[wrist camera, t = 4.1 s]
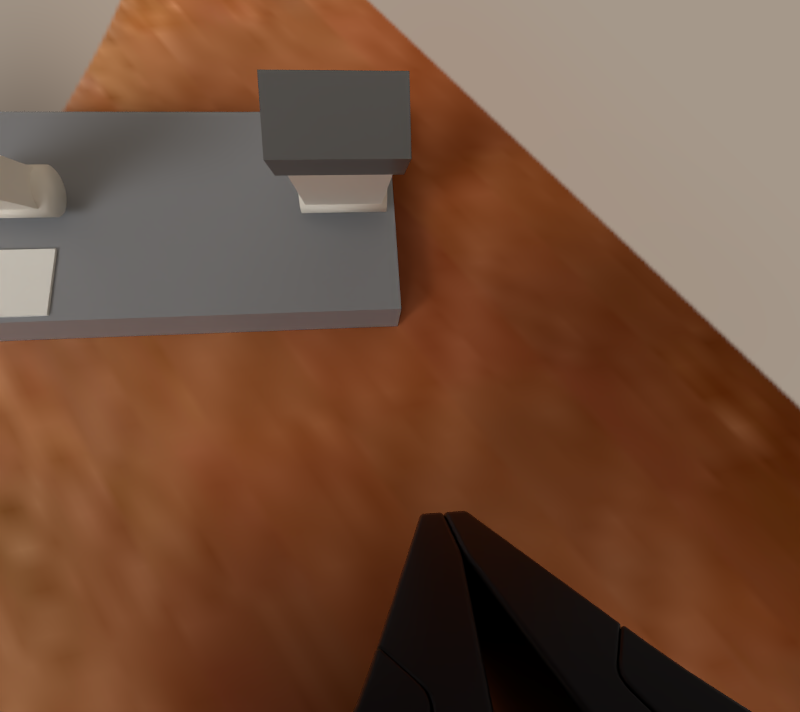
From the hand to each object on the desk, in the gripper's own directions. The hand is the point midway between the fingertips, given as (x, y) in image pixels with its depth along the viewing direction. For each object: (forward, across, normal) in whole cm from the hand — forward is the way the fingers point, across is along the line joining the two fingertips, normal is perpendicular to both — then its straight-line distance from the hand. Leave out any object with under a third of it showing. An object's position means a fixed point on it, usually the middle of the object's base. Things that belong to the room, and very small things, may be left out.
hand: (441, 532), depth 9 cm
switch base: (+16, -8, +2) cm, 17 cm away
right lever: (+13, -2, +5) cm, 14 cm away
